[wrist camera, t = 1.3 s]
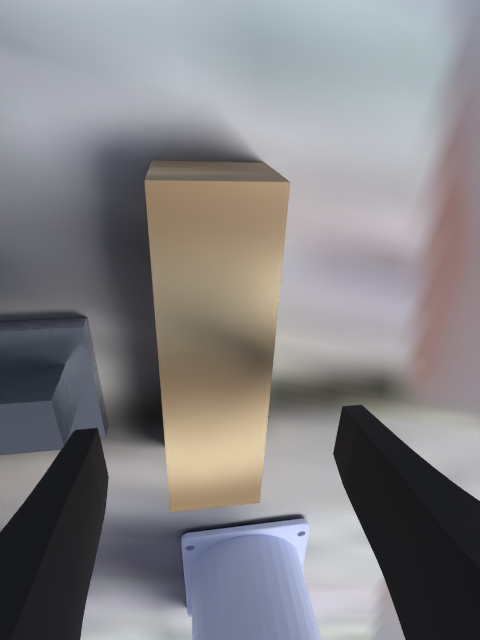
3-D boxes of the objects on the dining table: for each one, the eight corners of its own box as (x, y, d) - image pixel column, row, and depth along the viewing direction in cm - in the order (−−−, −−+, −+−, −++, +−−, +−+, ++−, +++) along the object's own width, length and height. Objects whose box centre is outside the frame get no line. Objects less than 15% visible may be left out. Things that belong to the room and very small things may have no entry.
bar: (245, 437, 21) (259, 502, 18) (171, 443, 21) (170, 512, 17) (262, 161, 15) (290, 182, 11) (151, 159, 14) (144, 180, 11)
